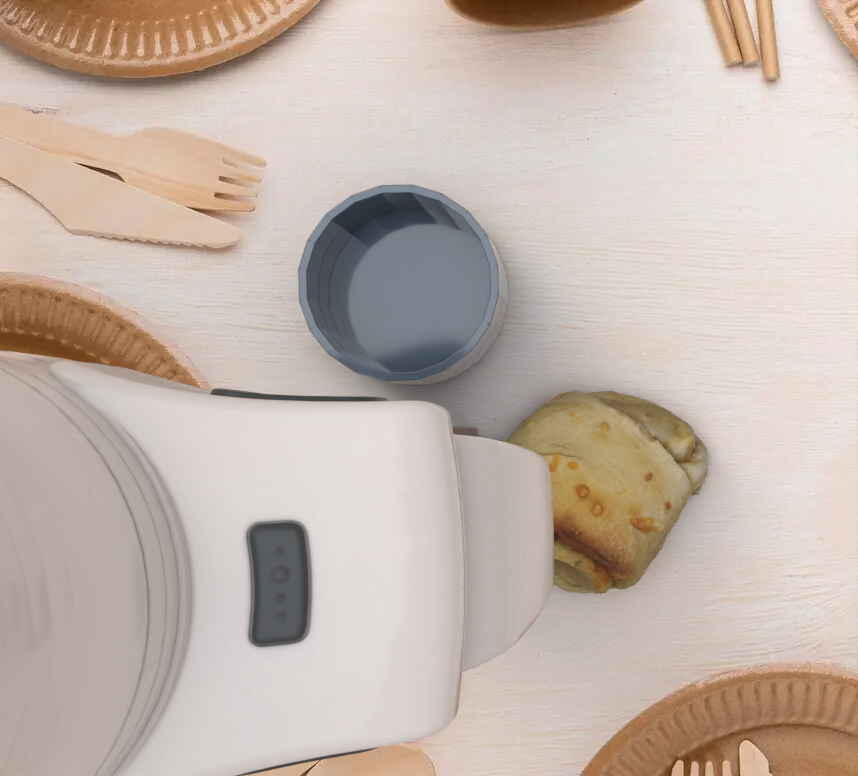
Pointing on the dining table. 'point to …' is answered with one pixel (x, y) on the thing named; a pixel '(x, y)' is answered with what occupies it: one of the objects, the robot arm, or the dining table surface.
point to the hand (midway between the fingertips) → (241, 523)
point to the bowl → (402, 285)
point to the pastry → (612, 483)
